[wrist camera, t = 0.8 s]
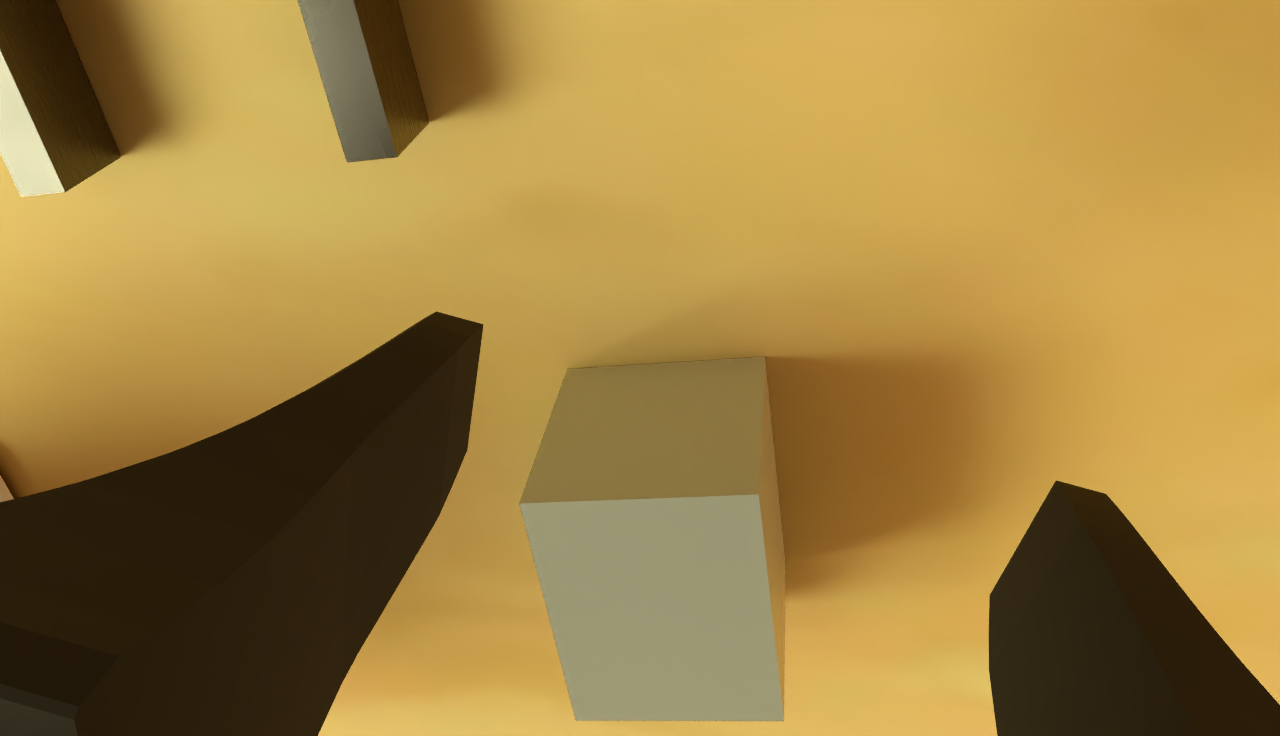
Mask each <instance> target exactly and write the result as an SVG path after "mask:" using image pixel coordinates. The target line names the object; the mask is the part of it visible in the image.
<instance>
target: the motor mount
mask: <svg viewBox="0 0 1280 736" xmlns="http://www.w3.org/2000/svg"><path fill="white" fill-rule="evenodd" d="M298 3H299V6H300V10H301V13H302V16H303V20H304V23H305V26H306V29H307V33H308V36H309V39H310V43H311V46H312V49H313V52H314V56H315V59H316V62H317V66H318V69H319V72H320V75H321V79H322V82H323V85H324V89H325V92H326V95H327V98H328V102H329V105H330V108H331V112H332V115H333V118H334V121H335V125H336V128H337V131H338V135H339V138H340V141H341V144H342V148H343V151H344V154H345V158H346V161H347V162H356V161H365V160H374V159H384V158H393V157H398V156H399V155H400V153H401V152H402V151H403V150H404V149H405V148H406V147H407V146H408V145H409V144H410V143H411V142H412V141H413V140H414V138H415V137H416V136H417V135H418V134H419V133H420V132H421V131H422V130H423V129H424V128H425V127H426V126H427V125H428V123H429V121H428V117H427V113H426V109H425V105H424V101H423V97H422V93H421V89H420V86H419V82H418V78H417V74H416V70H415V66H414V62H413V58H412V54H411V51H410V47H409V43H408V39H407V35H406V31H405V27H404V23H403V19H402V16H401V12H400V8H399V4H398V0H298ZM0 154H1V156H2V158H3V160H4V163H5V165H6V167H7V169H8V171H9V173H10V175H11V177H12V179H13V181H14V183H15V185H16V188H17V190H18V192H19V194H20V196H21V197H25V196H34V195H44V194H53V193H62V192H66V191H68V190H69V189H71V188H73V187H74V186H76V185H77V184H79V183H81V182H82V181H84V180H85V179H87V178H88V177H90V176H92V175H93V174H95V173H96V172H98V171H100V170H101V169H103V168H104V167H106V166H108V165H109V164H111V163H112V162H114V161H115V160H117V159H119V158H120V154H119V152H118V150H117V147H116V145H115V142H114V140H113V138H112V135H111V133H110V131H109V128H108V126H107V123H106V121H105V119H104V116H103V114H102V111H101V109H100V107H99V104H98V102H97V100H96V97H95V95H94V92H93V90H92V88H91V85H90V83H89V80H88V78H87V76H86V73H85V71H84V69H83V66H82V64H81V61H80V59H79V57H78V54H77V52H76V49H75V47H74V45H73V42H72V40H71V38H70V35H69V33H68V30H67V28H66V26H65V23H64V21H63V19H62V16H61V14H60V11H59V9H58V7H57V4H56V2H55V0H0Z"/></svg>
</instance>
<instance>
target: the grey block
mask: <svg viewBox="0 0 1280 736" xmlns="http://www.w3.org/2000/svg"><path fill="white" fill-rule="evenodd" d="M519 504H520V508H521V512H522V516H523V520H524V524H525V527H526V531H527V535H528V539H529V543H530V547H531V550H532V554H533V558H534V562H535V566H536V570H537V573H538V577H539V581H540V585H541V589H542V593H543V597H544V600H545V604H546V608H547V612H548V616H549V620H550V623H551V627H552V631H553V635H554V639H555V643H556V646H557V650H558V654H559V658H560V662H561V666H562V669H563V673H564V677H565V681H566V685H567V689H568V693H569V696H570V700H571V704H572V708H573V712H574V716H575V719H576V721H784V664H785V553H784V543H783V533H782V523H781V513H780V502H779V492H778V482H777V472H776V462H775V452H774V442H773V432H772V422H771V412H770V402H769V392H768V382H767V372H766V362H765V356H764V357H748V358H732V359H717V360H701V361H685V362H670V363H654V364H638V365H623V366H607V367H591V368H576V369H567V372H566V375H565V377H564V380H563V383H562V386H561V389H560V391H559V394H558V397H557V400H556V403H555V405H554V408H553V411H552V414H551V417H550V419H549V422H548V425H547V428H546V431H545V433H544V436H543V439H542V442H541V444H540V447H539V450H538V453H537V456H536V458H535V461H534V464H533V467H532V470H531V472H530V475H529V478H528V481H527V484H526V486H525V489H524V492H523V495H522V498H521V500H520V503H519Z"/></svg>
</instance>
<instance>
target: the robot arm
mask: <svg viewBox="0 0 1280 736" xmlns="http://www.w3.org/2000/svg"><path fill="white" fill-rule="evenodd" d="M482 331H483V324H480V323H476V322H472V321H469V320H465V319H461V318H458V317H454V316H450V315H447V314H443V313H439V312H435V313H433V314H431V315H430V316H428V317H426V318H424V319H423V320H421V321H419V322H418V323H416V324H415V325H413V326H411V327H410V328H408V329H407V330H405V331H404V332H402V333H400V334H399V335H397V336H396V337H394V338H393V339H391V340H389V341H388V342H386V343H385V344H383V345H382V346H380V347H378V348H377V349H375V350H374V351H372V352H370V353H369V354H367V355H366V356H364V357H362V358H361V359H359V360H357V361H356V362H354V363H352V364H351V365H349V366H347V367H346V368H344V369H342V370H341V371H339V372H337V373H335V374H334V375H332V376H330V377H329V378H327V379H325V380H324V381H322V382H320V383H319V384H317V385H315V386H313V387H311V388H310V389H308V390H306V391H304V392H302V393H300V394H298V395H296V396H295V397H293V398H291V399H289V400H287V401H285V402H283V403H281V404H279V405H277V406H275V407H273V408H271V409H270V410H268V411H266V412H264V413H262V414H260V415H258V416H256V417H254V418H252V419H250V420H248V421H246V422H243V423H241V424H239V425H237V426H234V427H232V428H230V429H228V430H225V431H223V432H221V433H218V434H216V435H213V436H211V437H209V438H206V439H204V440H201V441H199V442H196V443H194V444H191V445H189V446H186V447H184V448H181V449H179V450H176V451H173V452H171V453H168V454H165V455H162V456H159V457H156V458H153V459H150V460H147V461H144V462H141V463H138V464H135V465H132V466H129V467H126V468H123V469H119V470H116V471H113V472H110V473H107V474H104V475H101V476H98V477H95V478H92V479H89V480H85V481H82V482H78V483H75V484H71V485H67V486H64V487H60V488H56V489H52V490H49V491H45V492H41V493H37V494H33V495H29V496H25V497H20V498H16V499H14V498H13V496H12V495H11V493H10V491H9V489H8V488H7V486H6V484H5V482H4V481H3V479H2V477H1V475H0V736H318V734H319V732H320V729H321V727H322V725H323V723H324V721H325V719H326V716H327V714H328V712H329V710H330V708H331V706H332V703H333V701H334V699H335V697H336V695H337V692H338V690H339V688H340V686H341V684H342V682H343V680H344V678H345V677H346V675H347V673H348V671H349V669H350V667H351V665H352V663H353V662H354V660H355V658H356V656H357V654H358V652H359V651H360V649H361V647H362V646H363V644H364V642H365V640H366V639H367V637H368V635H369V634H370V632H371V630H372V629H373V627H374V625H375V624H376V622H377V620H378V619H379V617H380V615H381V614H382V612H383V610H384V608H385V607H386V605H387V603H388V602H389V600H390V598H391V597H392V595H393V593H394V592H395V590H396V588H397V587H398V585H399V583H400V582H401V580H402V578H403V576H404V575H405V573H406V571H407V570H408V568H409V566H410V565H411V563H412V561H413V560H414V558H415V556H416V554H417V553H418V551H419V549H420V548H421V546H422V544H423V543H424V541H425V539H426V537H427V536H428V534H429V532H430V531H431V529H432V527H433V525H434V524H435V522H436V520H437V518H438V517H439V515H440V512H441V510H442V508H443V506H444V503H445V501H446V499H447V496H448V494H449V492H450V490H451V487H452V485H453V483H454V480H455V478H456V475H457V473H458V471H459V468H460V466H461V463H462V461H463V459H464V456H465V454H466V451H467V447H468V439H469V431H470V423H471V416H472V408H473V400H474V393H475V385H476V377H477V369H478V362H479V354H480V346H481V339H482ZM989 673H990V681H991V689H992V697H993V705H994V712H995V720H996V727H997V734H998V736H1280V705H1279V704H1278V703H1277V701H1276V700H1275V699H1274V698H1273V697H1272V696H1271V695H1270V694H1269V692H1268V691H1267V690H1266V689H1265V688H1264V687H1263V686H1262V685H1261V683H1260V682H1259V681H1258V680H1257V679H1256V678H1255V677H1254V676H1253V674H1252V673H1251V672H1250V671H1249V670H1248V669H1247V668H1246V666H1245V665H1244V664H1243V663H1242V662H1241V661H1240V660H1239V658H1238V657H1237V656H1236V655H1235V654H1234V652H1233V651H1232V650H1231V649H1230V648H1229V646H1228V645H1227V644H1226V643H1225V642H1224V641H1223V639H1222V638H1221V637H1220V636H1219V634H1218V633H1217V632H1216V631H1215V630H1214V628H1213V627H1212V626H1211V625H1210V623H1209V622H1208V621H1207V620H1206V619H1205V617H1204V616H1203V615H1202V614H1201V612H1200V611H1199V610H1198V609H1197V607H1196V606H1195V605H1194V604H1193V602H1192V601H1191V600H1190V599H1189V597H1188V596H1187V595H1186V593H1185V592H1184V591H1183V590H1182V588H1181V587H1180V586H1179V585H1178V583H1177V582H1176V581H1175V579H1174V578H1173V577H1172V576H1171V574H1170V573H1169V572H1168V570H1167V569H1166V568H1165V567H1164V565H1163V564H1162V563H1161V561H1160V560H1159V559H1158V558H1157V556H1156V555H1155V554H1154V552H1153V551H1152V550H1151V548H1150V547H1149V546H1148V545H1147V543H1146V542H1145V541H1144V539H1143V538H1142V537H1141V536H1140V534H1139V533H1138V532H1137V531H1136V529H1135V528H1134V527H1133V525H1132V524H1131V523H1130V522H1129V520H1128V519H1127V518H1126V517H1125V516H1124V514H1123V513H1122V512H1121V511H1120V509H1119V508H1118V507H1117V506H1116V505H1115V504H1114V503H1113V501H1112V500H1111V499H1110V498H1109V497H1108V496H1107V495H1106V494H1104V493H1100V492H1096V491H1093V490H1089V489H1085V488H1082V487H1078V486H1074V485H1071V484H1067V483H1063V482H1060V481H1056V482H1055V483H1054V485H1053V487H1052V488H1051V490H1050V492H1049V494H1048V495H1047V497H1046V499H1045V501H1044V502H1043V504H1042V506H1041V507H1040V509H1039V511H1038V513H1037V514H1036V516H1035V518H1034V520H1033V521H1032V523H1031V525H1030V527H1029V528H1028V530H1027V532H1026V533H1025V535H1024V537H1023V539H1022V540H1021V542H1020V544H1019V546H1018V547H1017V549H1016V551H1015V552H1014V554H1013V556H1012V558H1011V559H1010V561H1009V563H1008V565H1007V566H1006V568H1005V570H1004V572H1003V573H1002V575H1001V577H1000V578H999V580H998V582H997V584H996V585H995V587H994V589H993V591H992V592H991V594H990V608H989Z"/></svg>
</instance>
